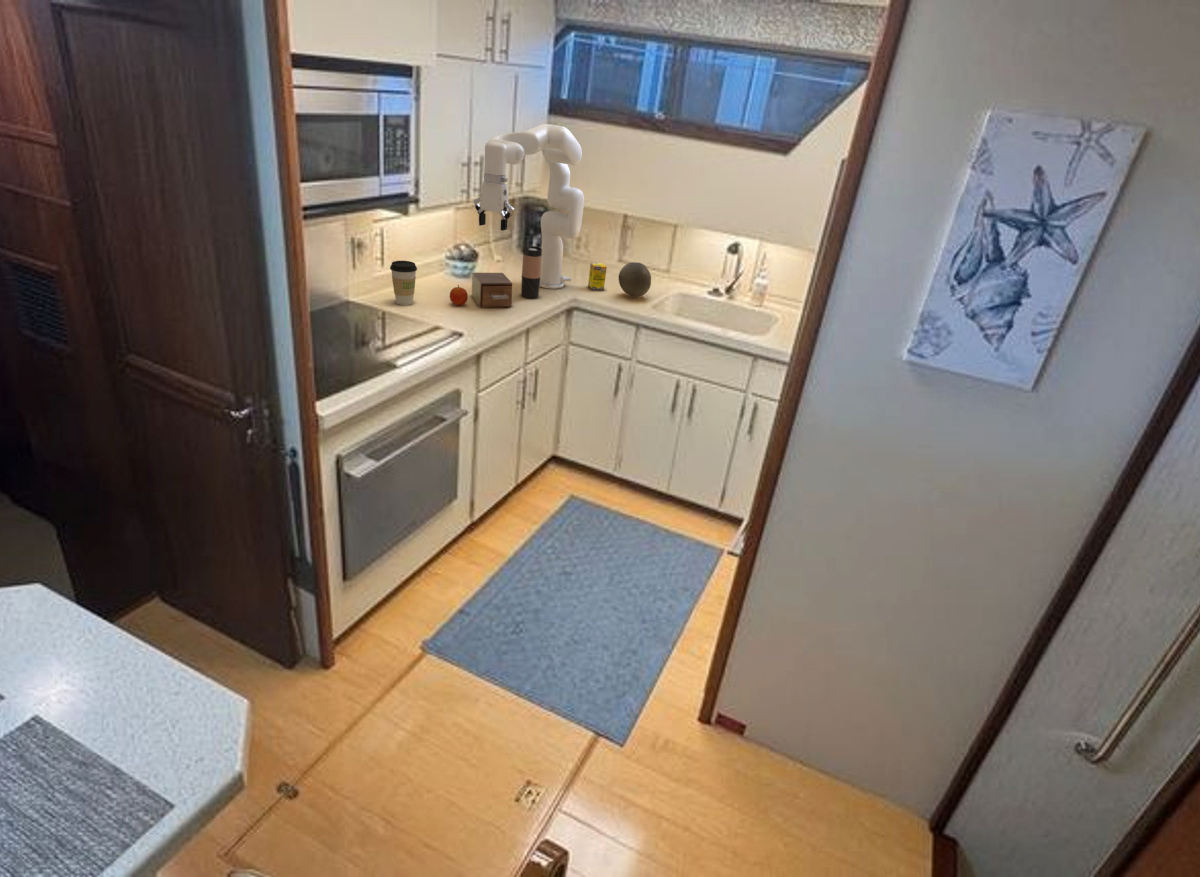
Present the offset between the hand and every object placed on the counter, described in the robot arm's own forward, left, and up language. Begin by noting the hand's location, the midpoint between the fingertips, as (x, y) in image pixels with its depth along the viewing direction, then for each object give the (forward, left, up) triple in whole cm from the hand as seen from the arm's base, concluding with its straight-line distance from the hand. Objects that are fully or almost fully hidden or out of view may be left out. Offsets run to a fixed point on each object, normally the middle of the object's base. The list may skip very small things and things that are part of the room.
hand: (492, 227), depth 257 cm
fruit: (+12, -3, -31) cm, 33 cm away
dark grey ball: (-67, -11, -31) cm, 75 cm away
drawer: (-2, -3, -30) cm, 30 cm away
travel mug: (-20, -13, -31) cm, 39 cm away
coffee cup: (+32, -7, -31) cm, 45 cm away
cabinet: (-2, -7, -31) cm, 32 cm away
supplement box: (-54, -23, -31) cm, 67 cm away
